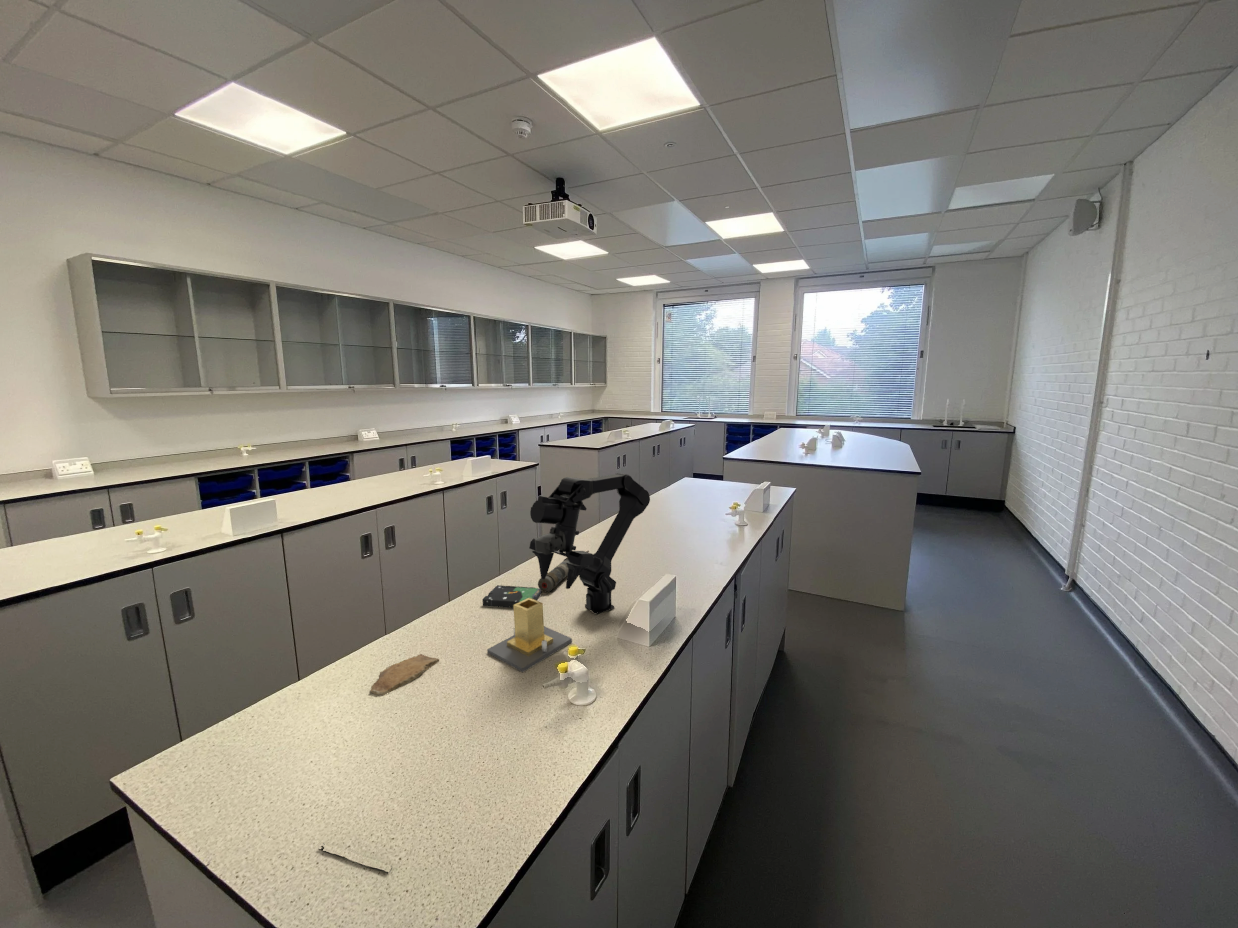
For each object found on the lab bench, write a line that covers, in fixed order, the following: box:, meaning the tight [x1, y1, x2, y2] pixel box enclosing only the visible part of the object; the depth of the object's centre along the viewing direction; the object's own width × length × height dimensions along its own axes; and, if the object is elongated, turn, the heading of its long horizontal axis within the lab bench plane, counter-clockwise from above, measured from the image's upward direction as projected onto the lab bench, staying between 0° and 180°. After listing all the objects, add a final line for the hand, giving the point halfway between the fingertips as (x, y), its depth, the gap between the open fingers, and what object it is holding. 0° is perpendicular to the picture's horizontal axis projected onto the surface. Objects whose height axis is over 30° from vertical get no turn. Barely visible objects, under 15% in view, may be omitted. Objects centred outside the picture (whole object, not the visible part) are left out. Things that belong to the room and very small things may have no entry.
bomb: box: [537, 550, 590, 593], centre depth 165 cm, size 5×34×5 cm, turn 160°
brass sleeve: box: [507, 598, 553, 656], centre depth 117 cm, size 8×8×10 cm
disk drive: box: [482, 584, 542, 609], centre depth 144 cm, size 10×3×15 cm
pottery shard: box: [370, 653, 440, 696], centre depth 108 cm, size 8×16×2 cm, turn 142°
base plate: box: [486, 625, 573, 673], centre depth 118 cm, size 16×13×5 cm
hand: (555, 583), depth 126 cm, fingers open, 9 cm apart
